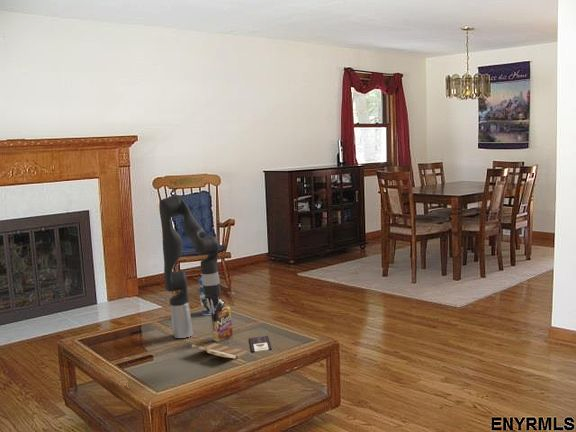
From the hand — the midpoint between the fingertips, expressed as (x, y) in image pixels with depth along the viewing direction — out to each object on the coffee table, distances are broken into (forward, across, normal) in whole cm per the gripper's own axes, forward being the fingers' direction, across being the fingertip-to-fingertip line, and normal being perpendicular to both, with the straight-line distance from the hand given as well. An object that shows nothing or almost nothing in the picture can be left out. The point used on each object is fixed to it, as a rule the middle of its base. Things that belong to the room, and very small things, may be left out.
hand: (215, 321), depth 257 cm
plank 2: (+16, 0, +1) cm, 16 cm away
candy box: (+18, -20, +20) cm, 33 cm away
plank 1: (+16, -11, +1) cm, 19 cm away
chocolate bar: (+19, +2, +23) cm, 30 cm away
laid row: (+18, -6, +9) cm, 21 cm away
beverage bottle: (+18, -59, +45) cm, 76 cm away
